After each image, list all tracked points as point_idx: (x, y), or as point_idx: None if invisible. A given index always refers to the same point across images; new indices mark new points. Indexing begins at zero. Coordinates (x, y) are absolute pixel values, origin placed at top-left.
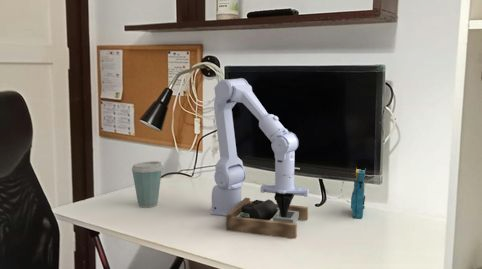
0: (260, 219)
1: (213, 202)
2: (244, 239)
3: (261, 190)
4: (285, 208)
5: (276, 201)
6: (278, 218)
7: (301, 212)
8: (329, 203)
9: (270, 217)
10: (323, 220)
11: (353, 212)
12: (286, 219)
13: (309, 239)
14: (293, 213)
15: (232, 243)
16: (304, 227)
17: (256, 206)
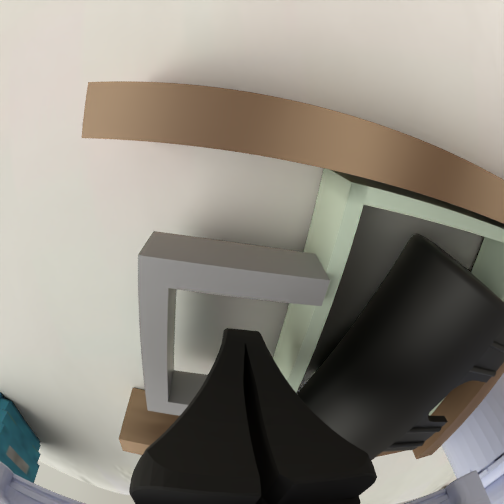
0: (439, 197)
1: None
2: (454, 61)
3: (478, 487)
4: (222, 383)
5: (335, 434)
6: (282, 271)
7: (154, 423)
8: (122, 481)
9: (332, 352)
10: (71, 387)
11: (2, 411)
12: (203, 262)
13: (52, 110)
14: (179, 395)
15: (485, 22)
16: (114, 305)
17: (481, 342)
